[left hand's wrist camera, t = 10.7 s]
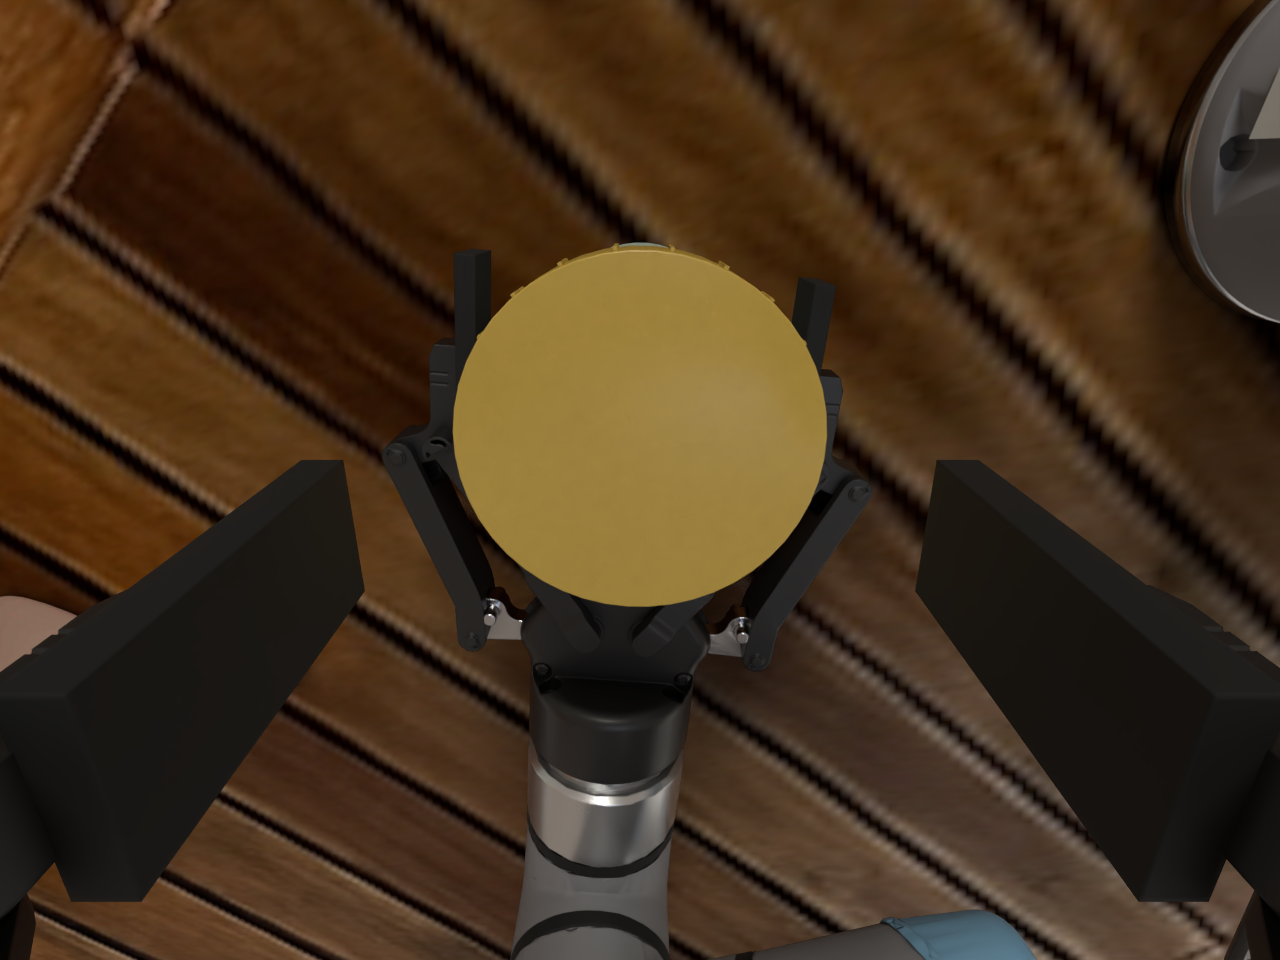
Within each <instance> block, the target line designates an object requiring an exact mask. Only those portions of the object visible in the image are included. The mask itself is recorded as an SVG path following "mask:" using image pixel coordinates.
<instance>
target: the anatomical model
mask: <svg viewBox="0 0 1280 960" xmlns="http://www.w3.org/2000/svg"><path fill="white" fill-rule="evenodd" d="M75 617H77V615H74V614H72V613H70V612H67V611H65V610H62V609H59V608H56V607H54V606H51V605H48V604H45V603H42V602H38V601H35V600H32V599H28V598H24V597H17V596H3V597H0V672H1V671H2V670H4V669H5V668H6V667H8V666H9V665H10V664H12V663H13V662H15V661H16V660H17V659H19V658H20V657H21V656H23V655H24V654H31V652H32V650H31V649H33V648H34V647H35V646H37V645H38V644H39V643H41V642H42V641H44V640H45V639H46V638H48V637H49V636H50V635H57V634H58V630H59V629H60V628H61V627H63V626H64V625H66V624H67V623H68V622H70V621H71V620H73V619H74V618H75Z"/></svg>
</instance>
